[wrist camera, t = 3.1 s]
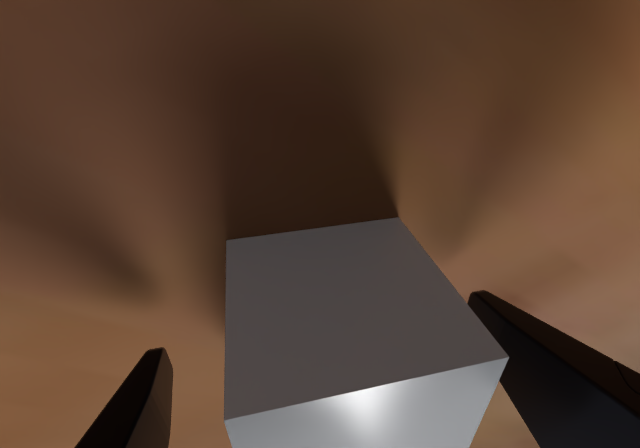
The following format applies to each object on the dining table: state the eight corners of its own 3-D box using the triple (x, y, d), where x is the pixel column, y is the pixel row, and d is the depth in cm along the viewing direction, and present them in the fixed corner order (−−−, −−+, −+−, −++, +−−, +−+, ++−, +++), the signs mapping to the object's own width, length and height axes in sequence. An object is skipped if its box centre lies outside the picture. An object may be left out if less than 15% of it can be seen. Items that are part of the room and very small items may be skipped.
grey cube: (383, 329, 13) (454, 479, 9) (249, 354, 12) (259, 534, 8) (397, 215, 10) (508, 357, 6) (226, 238, 9) (224, 421, 5)
